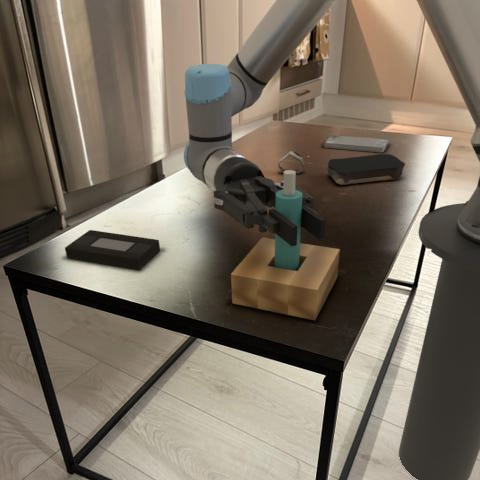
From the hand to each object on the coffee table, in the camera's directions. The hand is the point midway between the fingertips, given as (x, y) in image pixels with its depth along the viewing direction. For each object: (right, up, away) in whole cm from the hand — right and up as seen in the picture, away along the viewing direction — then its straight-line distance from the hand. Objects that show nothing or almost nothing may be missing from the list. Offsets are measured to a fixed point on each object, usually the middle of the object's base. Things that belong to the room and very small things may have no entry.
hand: (308, 232), depth 66 cm
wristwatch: (+3, +24, +54) cm, 59 cm away
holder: (-2, -7, +11) cm, 13 cm away
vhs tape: (-31, 0, +22) cm, 38 cm away
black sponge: (+20, +21, +50) cm, 58 cm away
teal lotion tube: (-2, -3, +8) cm, 9 cm away
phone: (+22, +36, +70) cm, 82 cm away
